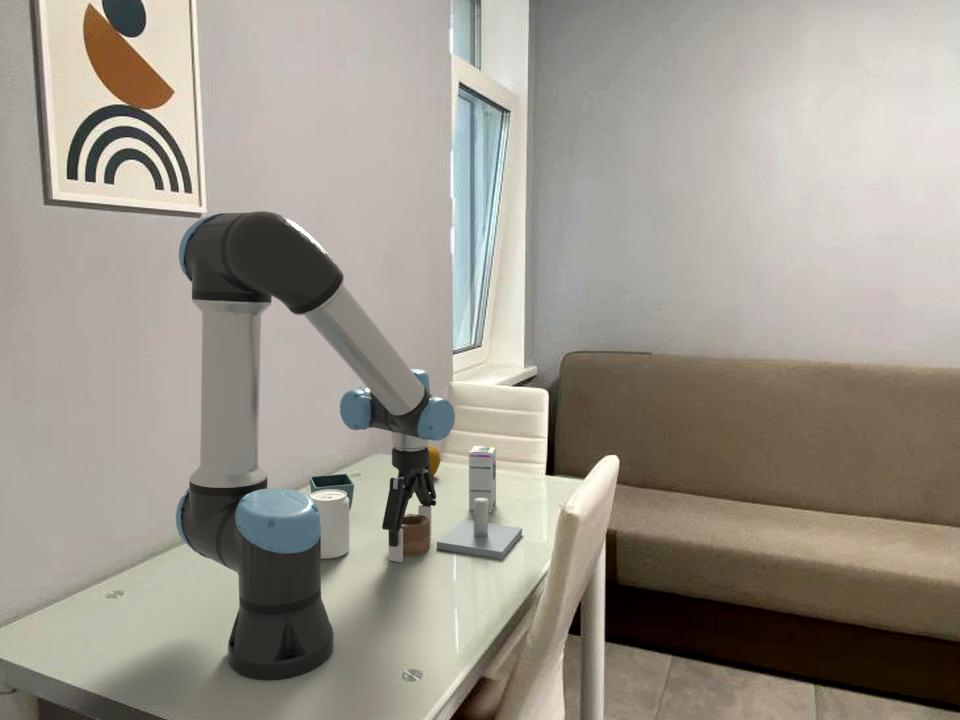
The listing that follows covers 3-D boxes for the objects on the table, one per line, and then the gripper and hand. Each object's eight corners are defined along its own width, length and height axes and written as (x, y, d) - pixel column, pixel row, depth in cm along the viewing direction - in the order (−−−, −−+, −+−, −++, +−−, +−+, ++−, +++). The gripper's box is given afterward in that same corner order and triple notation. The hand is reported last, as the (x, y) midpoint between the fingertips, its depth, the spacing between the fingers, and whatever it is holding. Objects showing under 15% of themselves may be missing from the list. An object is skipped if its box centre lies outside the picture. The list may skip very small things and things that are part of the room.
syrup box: (492, 512, 166) (493, 452, 164) (467, 510, 167) (468, 451, 165) (495, 504, 172) (497, 446, 170) (471, 503, 173) (472, 445, 171)
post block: (501, 559, 140) (502, 515, 138) (436, 548, 144) (436, 506, 143) (522, 534, 153) (522, 494, 152) (461, 525, 157) (462, 486, 156)
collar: (418, 558, 140) (418, 528, 139) (386, 552, 142) (386, 524, 141) (433, 544, 146) (433, 517, 146) (402, 539, 149) (402, 512, 148)
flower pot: (355, 522, 159) (354, 483, 157) (315, 527, 155) (314, 487, 154) (347, 509, 167) (347, 472, 166) (309, 514, 163) (308, 476, 162)
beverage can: (340, 562, 137) (339, 502, 135) (301, 558, 139) (300, 499, 137) (355, 546, 145) (355, 490, 143) (318, 543, 146) (317, 487, 145)
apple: (428, 470, 199) (428, 440, 198) (446, 478, 193) (447, 446, 192) (403, 476, 194) (403, 444, 193) (421, 483, 187) (421, 451, 186)
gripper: (399, 464, 129) (400, 575, 131) (451, 434, 152) (451, 528, 155) (363, 460, 131) (364, 569, 134) (419, 431, 154) (420, 524, 157)
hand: (411, 547), depth 144 cm, fingers open, 13 cm apart
